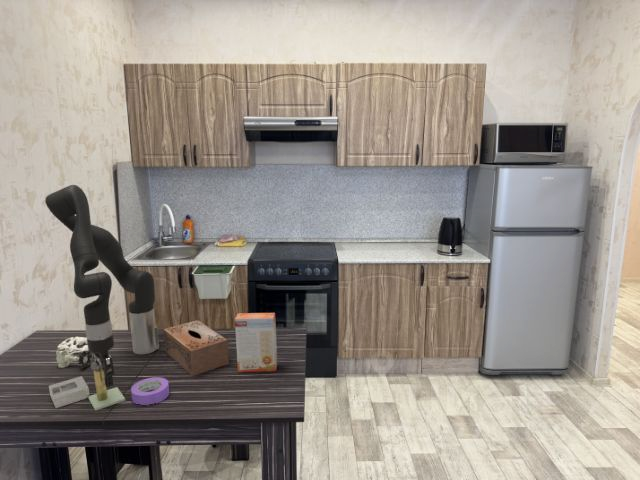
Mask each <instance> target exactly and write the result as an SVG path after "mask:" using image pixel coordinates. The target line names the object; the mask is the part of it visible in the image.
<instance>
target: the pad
mask: <svg viewBox="0 0 640 480" xmlns="http://www.w3.org/2000/svg"><path fill="white" fill-rule="evenodd" d="M107 396H108V398H107V399H106V400H103V401H98V399H97V393H94V394H90V396H88V398H87V399H88V400H89V402H90V403H91V404H90V405H92V406H91V407H93V409H94V411H98V410H102V409H104V408H107V407H110V406H113V405H116V404H118V403H122V402H125V401H126V397H124V395H123V393H122V392H121V390H120V389H119V388H118V386H116V387H113V388H110V389H107Z"/></svg>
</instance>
